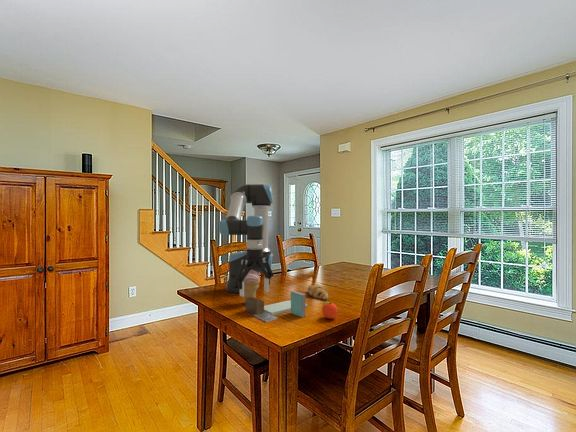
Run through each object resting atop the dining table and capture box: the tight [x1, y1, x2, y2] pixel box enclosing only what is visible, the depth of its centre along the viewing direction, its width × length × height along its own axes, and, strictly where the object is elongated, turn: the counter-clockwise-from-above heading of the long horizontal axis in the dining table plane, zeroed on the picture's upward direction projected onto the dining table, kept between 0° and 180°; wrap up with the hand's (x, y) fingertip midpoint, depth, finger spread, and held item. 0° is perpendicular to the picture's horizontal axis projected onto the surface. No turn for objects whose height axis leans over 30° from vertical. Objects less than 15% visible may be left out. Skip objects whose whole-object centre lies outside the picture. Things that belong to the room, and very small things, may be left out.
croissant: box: [307, 283, 329, 300], centre depth 173 cm, size 21×10×8 cm, turn 23°
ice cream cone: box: [242, 269, 261, 303], centre depth 158 cm, size 11×11×20 cm
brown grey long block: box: [244, 297, 279, 323], centre depth 140 cm, size 19×6×6 cm, turn 39°
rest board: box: [264, 299, 309, 316], centre depth 150 cm, size 11×22×1 cm, turn 129°
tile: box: [290, 290, 306, 318], centre depth 140 cm, size 8×2×10 cm, turn 39°
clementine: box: [321, 301, 338, 320], centre depth 136 cm, size 8×7×7 cm
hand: (254, 294), depth 143 cm, fingers open, 13 cm apart
